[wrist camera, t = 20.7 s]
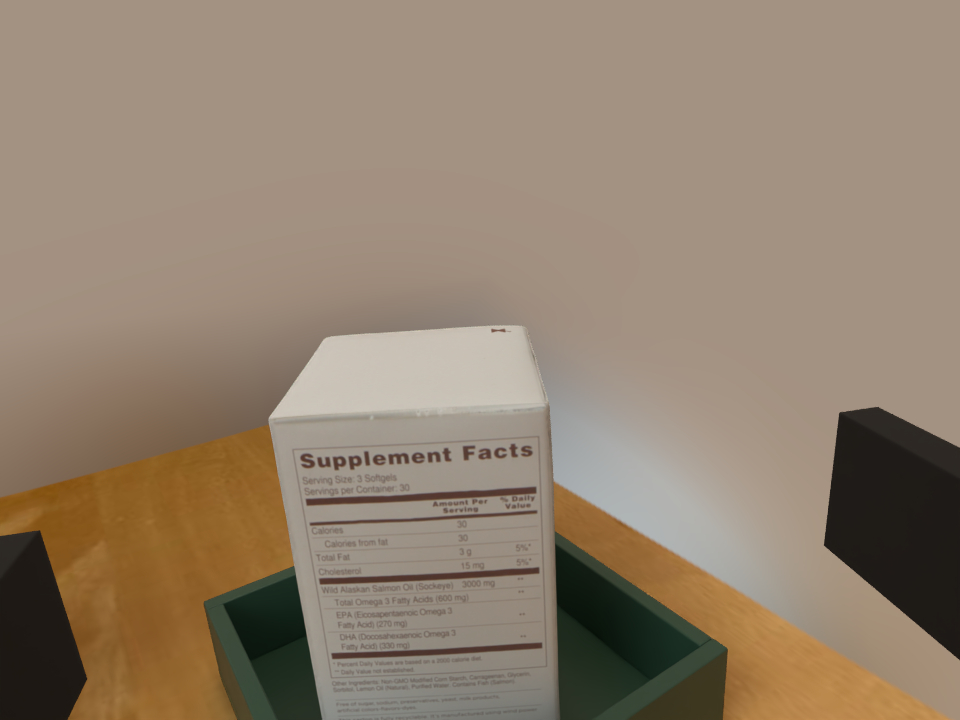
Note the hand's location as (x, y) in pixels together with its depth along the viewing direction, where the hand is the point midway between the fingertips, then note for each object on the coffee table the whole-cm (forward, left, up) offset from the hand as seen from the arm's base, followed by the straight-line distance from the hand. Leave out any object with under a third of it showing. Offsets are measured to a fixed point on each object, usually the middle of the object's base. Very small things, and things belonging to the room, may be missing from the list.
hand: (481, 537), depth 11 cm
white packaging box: (0, -10, -13) cm, 16 cm away
